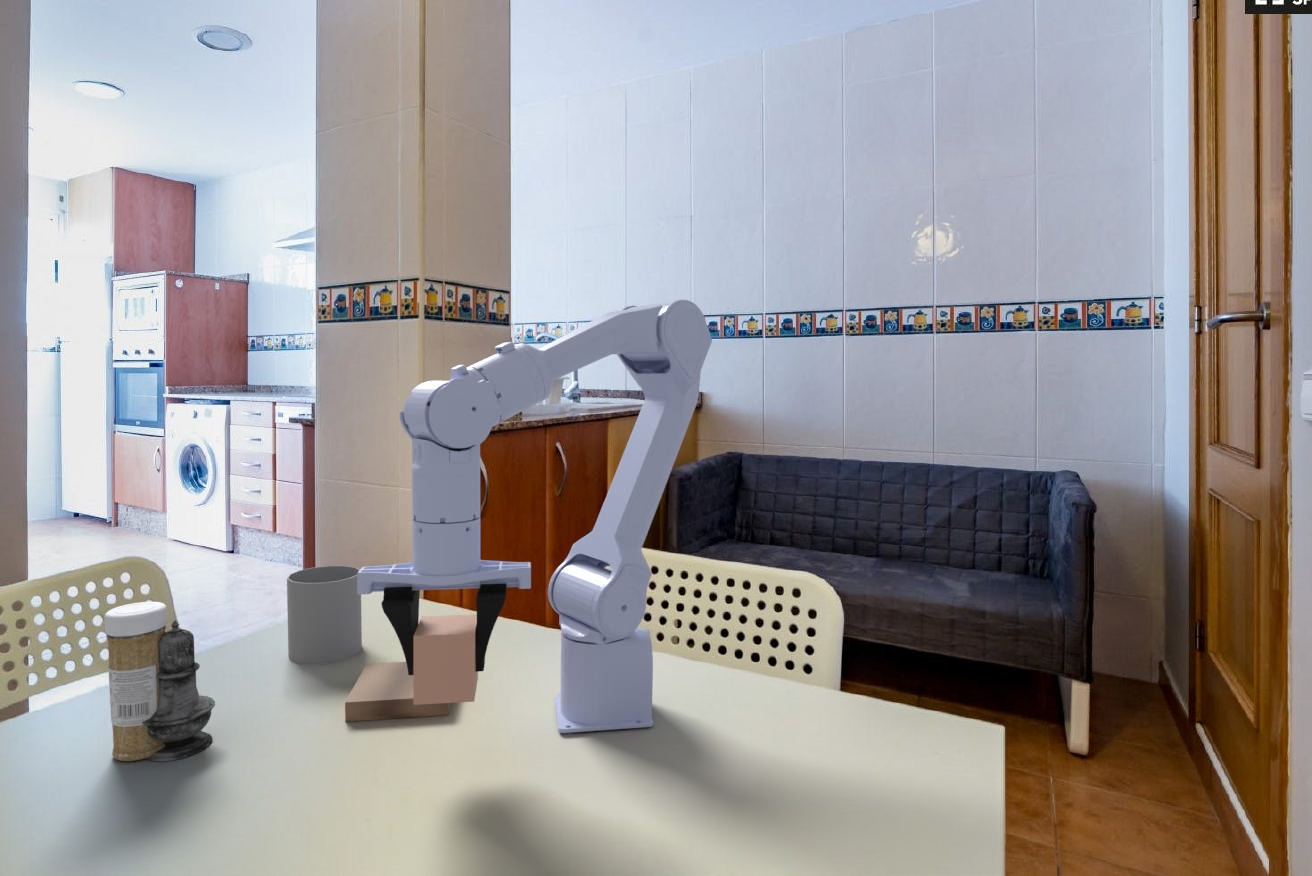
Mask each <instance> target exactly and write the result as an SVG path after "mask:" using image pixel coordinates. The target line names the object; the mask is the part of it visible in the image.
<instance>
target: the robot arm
mask: <svg viewBox="0 0 1312 876" xmlns="http://www.w3.org/2000/svg"><path fill="white" fill-rule="evenodd" d="M712 342H713V339H712V337H711V333H710V331H709V327H708V325H707V320H706V318H705V315H704V313H703V312H702V310H701V309H700V307H699V306H698V304H695V303H694V302H693V301H691V300H688V299H678V300H674V301H671V302H667V303H666V302H665V303H657V304H648V305H647V304H646V305H639V306H638V305H637V306H636V305H627V306H624V307H622V308H621V309H620V310H614V311H609V312H607V313H605V314H602V315H601V316H599V317H596V318H595V319H593V320H590V321H589V322H587V323H585V324H583V325H581V326H580V327H578V328H576V329H574V330H572V331H570V332H568V333H566V334H564V335H563V336H561V337H559V338H557V339H555V340H553V341H552V342H550V343H548V344H546V345H544V346H542V347H540V348H535V347H534V346H532V345H530V344H526V343H522V342H521V343H520V342H519V343H517V344H515V343H514V342H513V341H508V342H507V341H506V342H502V343H501V344H498V345H496V346H495V347H494V351H495V352H496V354H493V355H490V356H489V357H486V358H484V359H482V360H480V361H478V362H475V363H474V364H471V365H469V366H466V365H465V364H458V365H455V366H454V367H451V369H450V373H451V375H450V377H449V380H440V379H439V380H435V379H434V380H427V381H424V382H422V383H420V384H418V385H417V386H416V387H413V389H412V390H411V394H410V395H407V398H406V400H405V403H404V407H403V410H400V411H399V421H400V423H401V426H402V427H401V428H403V430H404V432H405V433H406V434H407V436H408V437H410V439H411V444H412V445H411V447H412V449H411V453H412V455H411V456H412V458H411V459H412V460H411V461H412V462H411V463H412V464H411V518H412V520H411V521H412V528H411V529H412V530H411V531H412V562H404V563H397V564H396V563H395V564H386V565H385V564H384V565H375V566H374V565H373V566H362V567H361V568H359V572H358V573H357V594H358V595H360V594H361V595H371V594H372V593H373V592H374V593H377V592H383V595H382V596H383V600H382V601H381V608H382V610H383V614H384V615H385V616H386V618H387V619H388V621H389V623H390V624H391V627H392V628H393V629H394V632H395V634H396V636H397V639H398V640H399V644H400V646H401V649H402V651H403V652H402V653H403V656H404V658H405V662H406V663H407V668H408V675H414V634H415V631H416V629H417V627H418V624H419V622H420V620H419V617H420V614H419V613H420V593H421V592H420V591H431V590H432V591H433V590H434V591H436V590H459V589H460V590H462V589H463V590H464V589H478V591H477V594H476V599H475V602H476V603H475V606H476V615H477V646H476V658H475V661H476V672H478V673H479V672H484V670H485V663H486V654H487V649H488V645H489V643H490V639H491V636H492V633H493V630H494V627H495V625H496V623H497V620H498V618H499V616H500V614H501V611H502V610H503V608H504V605H505V604H506V600H507V592H508V591H507V590H508V588H515V587H516V588H518V589H520V590H525V589H528V590H530V589H531V588H532V583H531V582H532V563H531V561H524V562H522V561H519V562H518V561H501V560H486V559H485V560H484V559H481V445H482V443H483V442H484V441H486V439H487V438H488V436H489V435H490V432H491V431H492V429H493V428H494V427H495V426H497V425H499V424H501V423H503V422H504V421H507V420H508V419H510V418H512V417H514V416H516V415H518V414H519V413H522V412H523V411H526V410H527V409H529V408H531V407H533V406H535V405H537V404H539V403H541V402H542V401H544V400H546V399H548V398H549V397H550V395H551V393H552V392H553V387H554V383H555V380H557V379H559V378H562V377H564V376H566V375H569V374H571V373H573V372H575V371H578V370H579V369H582V368H584V367H587V366H588V365H591V364H593V363H595V362H597V361H599V360H602V359H605V358H607V357H608V356H611V355H616V356H617V357H618V359H619V360H620V361H621V363H622V364H623V366H624V367H625V368H626V370H627V372H628V373H629V375H630V376H631V377H632V378H633V380H634V381H635V382H636V384H637V385H638V386H639V387H640V389H641V391H642V393H643V396H644V401H643V404H642V406H641V408H640V410H639V414H638V416H637V419H636V421H635V424H634V426H633V428H632V431H631V434H630V437H629V439H628V441H627V443H626V446H625V448H624V451H623V454H622V455H621V458H620V461H619V463H618V466H617V468H616V471H615V474H614V475H613V479H612V481H611V483H610V486H609V489H608V491H607V493H606V497H605V499H604V501H603V504H602V506H601V508H600V511H599V513H598V517H597V518H596V522H595V524H594V526H593V528H592V530H591V531H590V532H589V533H588V534H586V535H585V536H583V537H581V538H579V540H577V541H576V542H574V543H573V544H572V546H571V548H570V550H569V553H568V555H567V556H566V558H565V559H564V561H563V562H562V563H560V565H559V566H558V567H557V568H556V569H555V570H554V572H553V574H552V575H551V577H550V580H549V584H548V589H547V597H548V601H549V603H550V606H551V607H552V609H553V610H554V611H555V613H557V614H558V616H559V618H558V619H559V622H558V625H559V626H560V632H561V633H560V694H558V693H557V694H556V695H555V697H554V701H555V711H556V714H555V715H556V724H557V732H558V733H561V734H567V733H568V734H570V733H582V732H583V733H584V732H593V731H594V732H596V731H597V732H598V731H609V730H610V731H612V730H625V729H635V728H636V729H638V728H640V729H641V728H650V727H652V726H653V725H654V721H653V679H654V678H653V677H654V676H653V674H654V665H653V664H654V661H653V659H654V656H653V646H652V637H651V634H650V632H649V629H648V628H645V627H639V626H640V625H641V622H642V620H643V619H644V617H645V614H646V609H647V597H648V595H647V593H648V587H649V582H650V579H651V577H652V571H651V567H650V566H649V564H648V562H647V560H646V558H645V555H644V554H643V551H642V549H643V545H644V543H645V541H646V537H647V536H648V533H649V530H650V528H651V525H652V522H653V520H654V517H655V514H656V512H657V510H658V507H659V504H660V501H661V499H662V496H663V493H664V491H665V488H666V485H667V483H668V481H669V477H670V475H671V472H672V469H673V467H674V464H675V462H676V459H677V456H678V454H679V452H680V448H681V447H682V444H683V441H684V439H685V436H686V432H687V430H688V427H689V425H690V422H691V419H692V417H693V414H694V412H695V409H696V407H697V403H698V401H699V395H700V386H701V385H700V383H701V372H702V369H703V366H704V362H705V360H706V358H707V355H708V353H709V350H710V347H711V345H712ZM607 567H610V569H608V568H607Z"/></svg>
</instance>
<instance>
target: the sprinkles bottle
mask: <svg viewBox="0 0 1312 876" xmlns="http://www.w3.org/2000/svg"><path fill="white" fill-rule="evenodd" d="M167 624H168V610H167V605H166V604H165V603H163V602H159V601H142V602H141V601H140V602H133V603H128V604H124V605H120V606H116V607H114V608H112V609H110V610H109V609H108V611H107V612H106V613H105V614H104V633H105V634H106V638H107V641H108V642H107V644H108V646H107V647H108V649H107V650H108V685H109V703H110V705H109V706H110V721H111V724H112V725H111V726H112V742H113V743H112V744H113V749H112V752H111V753H112V754H111V756H112V757H113V759H116V760H117V761H121V762H135V761H140V760H144V759H146V758H148V757H150V756H153V753H154V752H156V751H158V750H160V749H162V748H164V747H166V746H165V742H158V741H156V740H154V739H152V738H151V737H150V735H149V734H148V732H147V725H144V724H142V722H143V721H145V720H147V719H149V718H151V717H152V716H153V714H154V713H155V712H156V710H157V708H158V702H159V696H160V695H159V694H160V693H159V678H157V677H156V675H157V674H158V673H159V652H158V641H159V639H160V638H161V636H162V635H163V634H164V633H165V632H166V629H167Z"/></svg>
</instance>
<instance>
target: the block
mask: <svg viewBox="0 0 1312 876" xmlns="http://www.w3.org/2000/svg"><path fill="white" fill-rule="evenodd" d="M476 646H477V614H458V615H454V614H453V615H451V614H450V615H427V616H424V615H423V616H421V618H420V620H419V621H418V627H417V629H416V631H415V634H414V705H420V704H439V703H451V704H456V703H470V702H472V703H473V702H475V699H476V694H477V686H478V680H479V672H476V661H475V658H476Z"/></svg>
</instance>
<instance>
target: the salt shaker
mask: <svg viewBox="0 0 1312 876" xmlns="http://www.w3.org/2000/svg"><path fill="white" fill-rule="evenodd" d="M171 623H172V624H170V626H171V627H172V628H171V629H169V630H168V631H167V630H166V631H165V633H164V634H163V635H162V636H161V638H160V639H159V641H158V652H159V673H158V674H157V675H156V677H157V678H159V693H160V694H159V695H160V696H159V702H158V708H157V710H156V712H155V713H154V714H153V716H152V717H151V718H149V719H147V720H145V721H143V722H142V724H144V725H147V732H148V734H149V735H150V737H151V738H152V739H154V740H156V741H158V742H165V746H166V747H164V748H162V749H160V750H158V751H156V752H154V753H153V756H150V757H148V758H145V759H147V760H149V761H152V762H170V761H176V760H182V759H185V758H188V757H191V756H193V755H196V754H198V753H200V752H202V751H204V750H206V749H207V748H208V747H209V746H210V745H211V743H212V742H213V736H212V735H211V733H210V732H209V733H208V732H205V731H202V730H203V729H204V728H205V727H206V726H207V724H208V723H209V721H210V719H211V716H212V710H213V709H214V708H215V706H216V701H215V699H213V697H209V696H207V695H200V693H199V690H198V688H197V671H198V670H199V669H200V666H201V665H200V663H198V662H196V661H195V658H196V657H195V636H194V634H193V633H192V632H191V631H190V630H187V629H184V628H183V629H182V628H181V627H179V626H180V623H179V622H178V621H177V620H173V622H171Z"/></svg>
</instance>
